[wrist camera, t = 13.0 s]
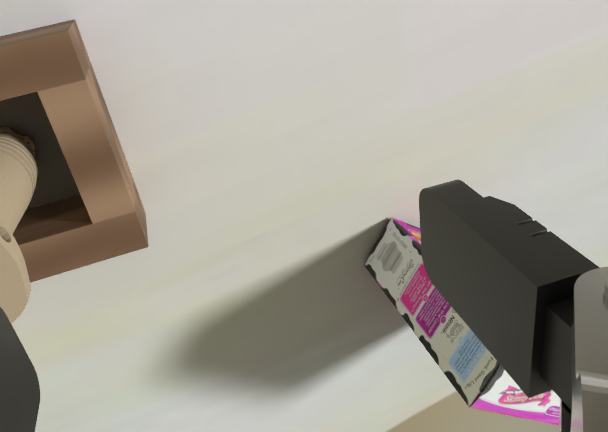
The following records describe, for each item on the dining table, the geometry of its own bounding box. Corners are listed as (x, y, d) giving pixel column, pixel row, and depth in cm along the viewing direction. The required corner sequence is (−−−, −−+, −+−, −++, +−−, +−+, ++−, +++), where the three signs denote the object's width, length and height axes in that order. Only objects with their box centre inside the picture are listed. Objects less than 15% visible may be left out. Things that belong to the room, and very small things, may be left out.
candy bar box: (359, 267, 46) (466, 411, 32) (389, 214, 45) (513, 341, 31) (460, 299, 51) (592, 437, 37) (489, 253, 49) (638, 377, 35)
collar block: (-168, 74, 31) (-216, 96, 26) (74, 19, 33) (67, 31, 28) (-53, 270, 37) (-76, 314, 32) (145, 213, 39) (148, 246, 35)
